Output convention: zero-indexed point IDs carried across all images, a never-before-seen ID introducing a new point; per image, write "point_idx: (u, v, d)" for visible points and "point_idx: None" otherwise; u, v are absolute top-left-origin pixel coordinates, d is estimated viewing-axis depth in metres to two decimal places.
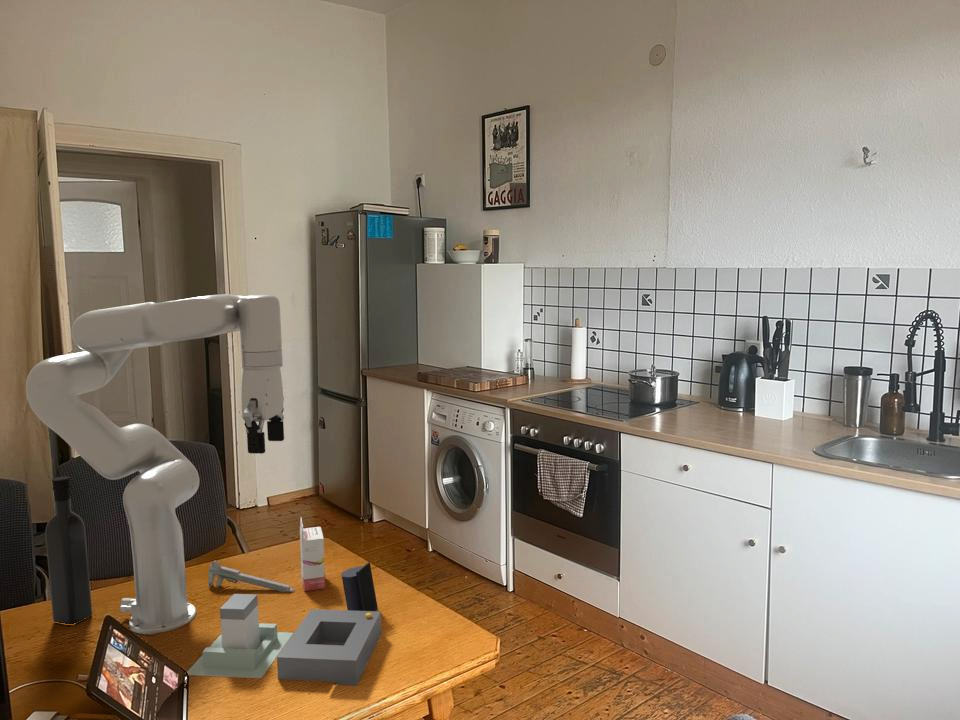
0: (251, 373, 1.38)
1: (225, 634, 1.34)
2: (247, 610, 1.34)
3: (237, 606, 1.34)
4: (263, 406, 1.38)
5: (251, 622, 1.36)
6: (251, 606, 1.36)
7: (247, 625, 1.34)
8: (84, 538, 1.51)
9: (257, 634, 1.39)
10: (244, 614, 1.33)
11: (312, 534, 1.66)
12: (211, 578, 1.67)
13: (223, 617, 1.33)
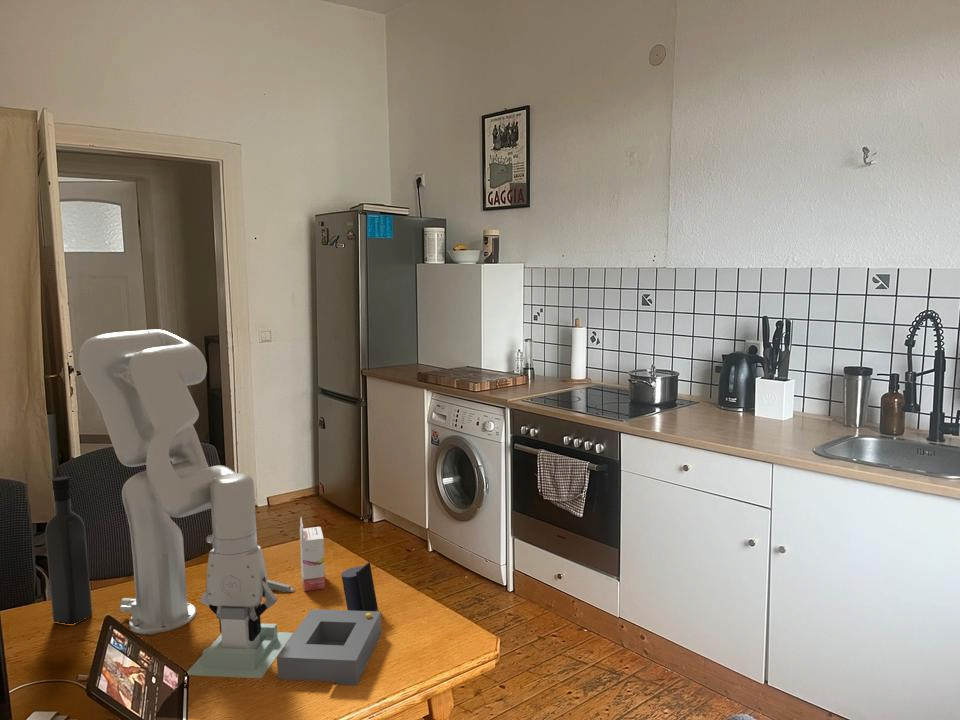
0: (259, 553, 1.34)
1: (225, 634, 1.34)
2: (247, 610, 1.34)
3: None
4: None
5: None
6: None
7: (247, 625, 1.34)
8: (84, 538, 1.51)
9: None
10: (244, 614, 1.33)
11: (312, 534, 1.66)
12: None
13: (223, 617, 1.33)
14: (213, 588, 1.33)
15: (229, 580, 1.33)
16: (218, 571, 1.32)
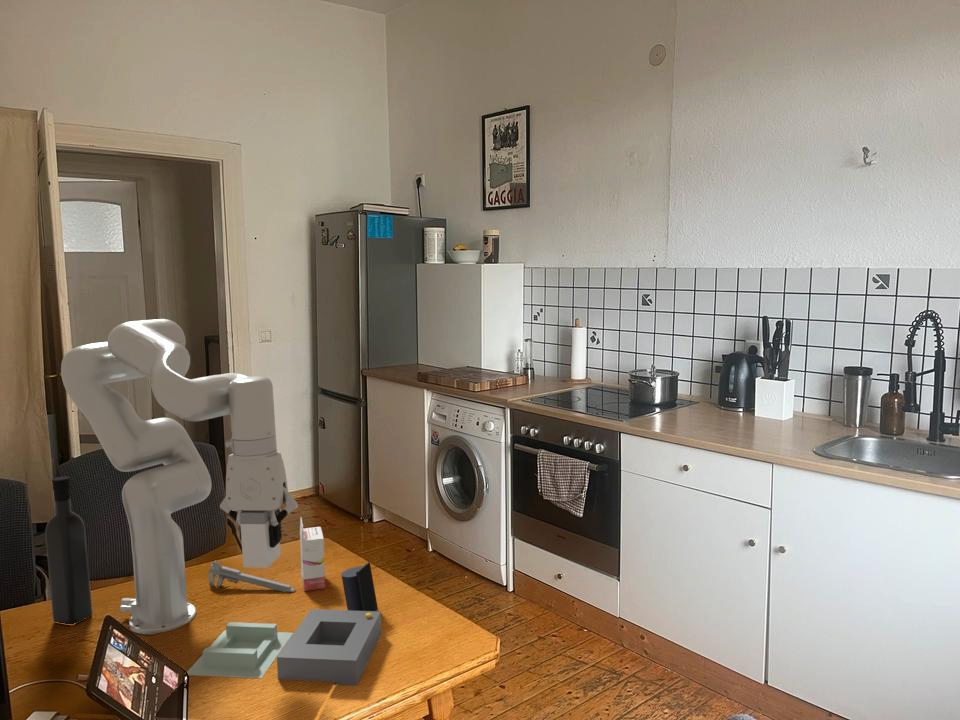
0: (279, 457, 1.31)
1: (245, 539, 1.31)
2: (267, 515, 1.32)
3: (257, 511, 1.31)
4: None
5: None
6: None
7: (267, 530, 1.31)
8: (84, 538, 1.51)
9: None
10: (264, 518, 1.30)
11: (312, 534, 1.66)
12: (212, 578, 1.67)
13: (243, 522, 1.31)
14: (233, 492, 1.30)
15: (249, 484, 1.30)
16: (238, 475, 1.30)
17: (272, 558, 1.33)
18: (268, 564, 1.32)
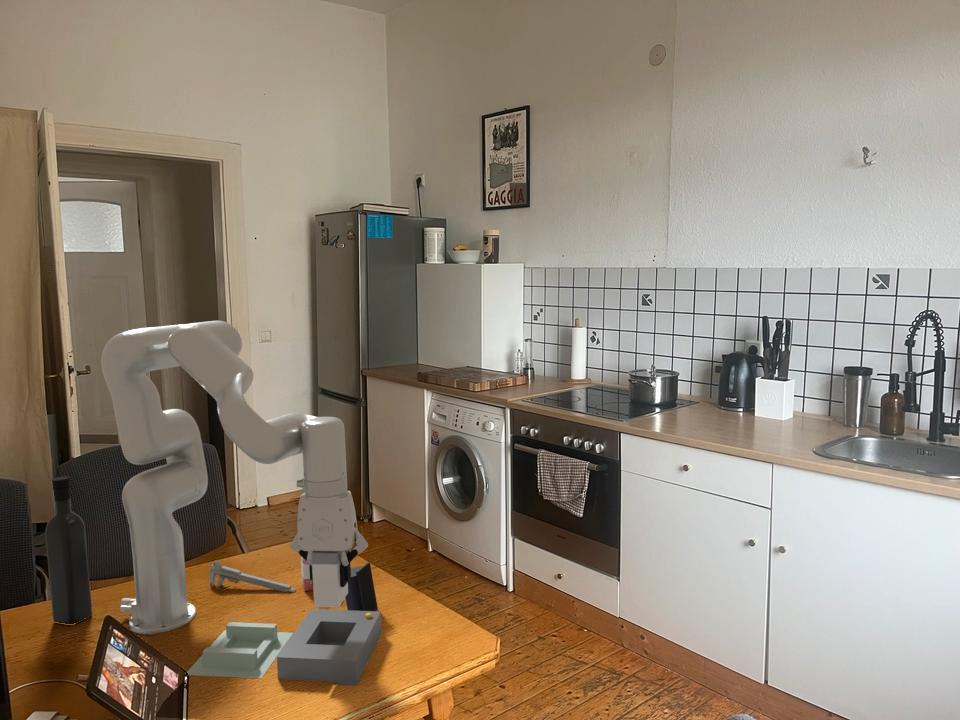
0: (350, 497, 1.32)
1: (317, 579, 1.31)
2: (339, 555, 1.32)
3: None
4: None
5: None
6: None
7: (338, 570, 1.32)
8: (84, 538, 1.51)
9: None
10: (336, 559, 1.31)
11: None
12: (212, 578, 1.67)
13: (315, 562, 1.31)
14: (304, 533, 1.31)
15: (321, 525, 1.30)
16: (310, 515, 1.30)
17: (341, 597, 1.34)
18: (339, 604, 1.32)
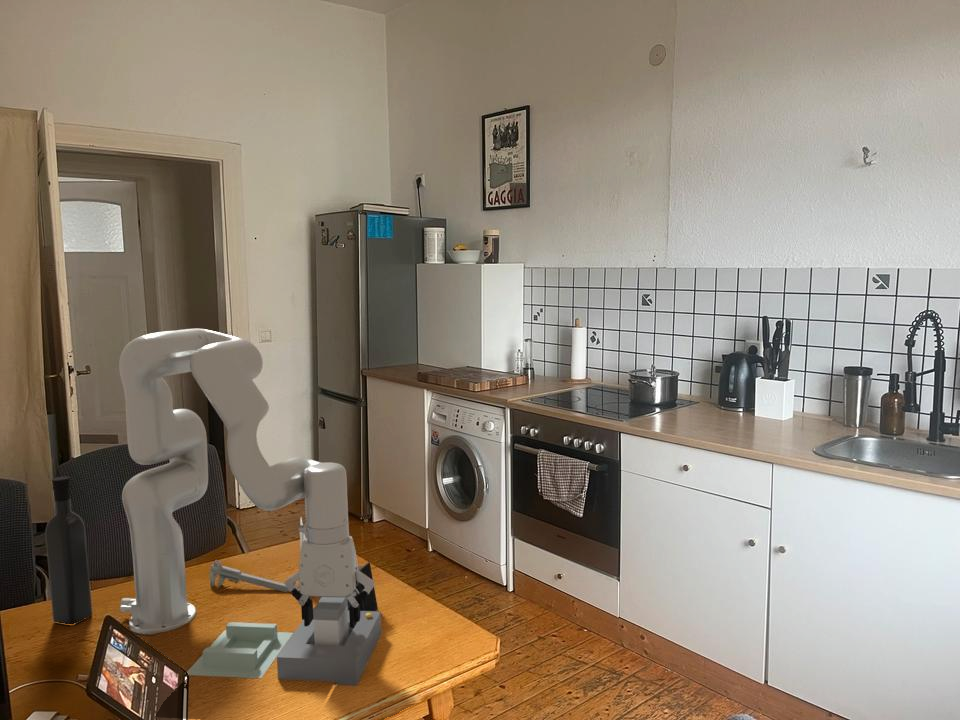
0: (352, 543, 1.33)
1: (318, 635, 1.33)
2: (340, 611, 1.34)
3: (330, 606, 1.33)
4: None
5: (342, 623, 1.35)
6: (343, 607, 1.35)
7: (339, 625, 1.33)
8: (84, 538, 1.51)
9: (347, 635, 1.38)
10: (337, 615, 1.32)
11: None
12: (212, 578, 1.67)
13: (316, 618, 1.33)
14: (306, 578, 1.32)
15: (323, 570, 1.32)
16: (312, 561, 1.31)
17: None
18: None
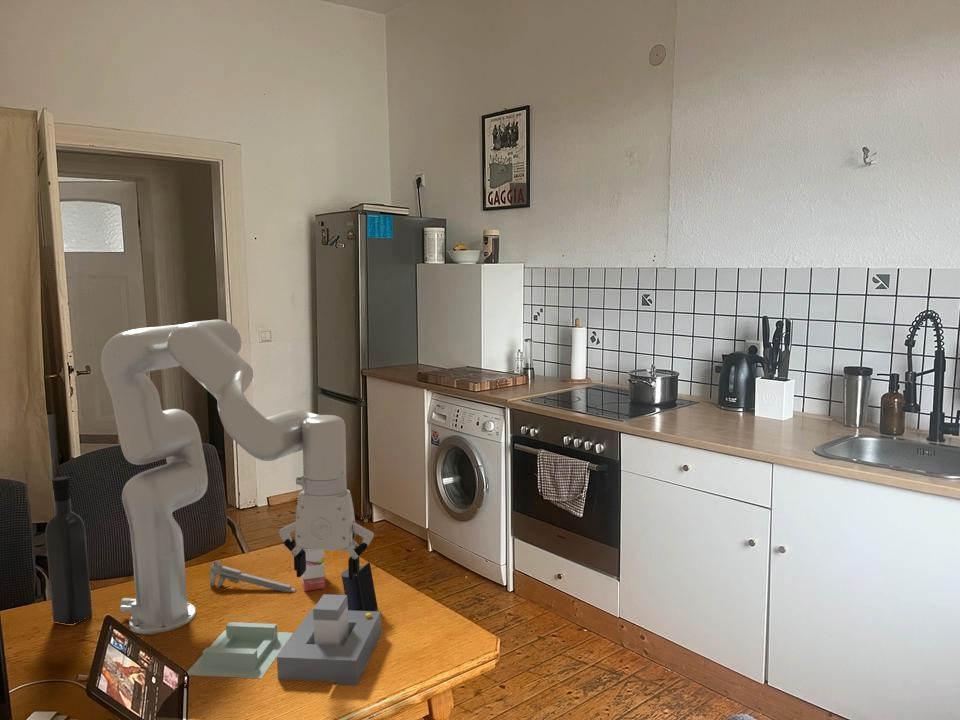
0: (349, 496, 1.32)
1: (318, 635, 1.33)
2: (340, 611, 1.34)
3: (330, 606, 1.33)
4: None
5: (342, 623, 1.35)
6: (343, 607, 1.35)
7: (339, 625, 1.33)
8: (84, 538, 1.51)
9: (347, 635, 1.38)
10: (337, 615, 1.32)
11: None
12: (213, 578, 1.67)
13: (316, 618, 1.33)
14: (302, 530, 1.31)
15: (320, 523, 1.30)
16: (308, 513, 1.30)
17: None
18: None
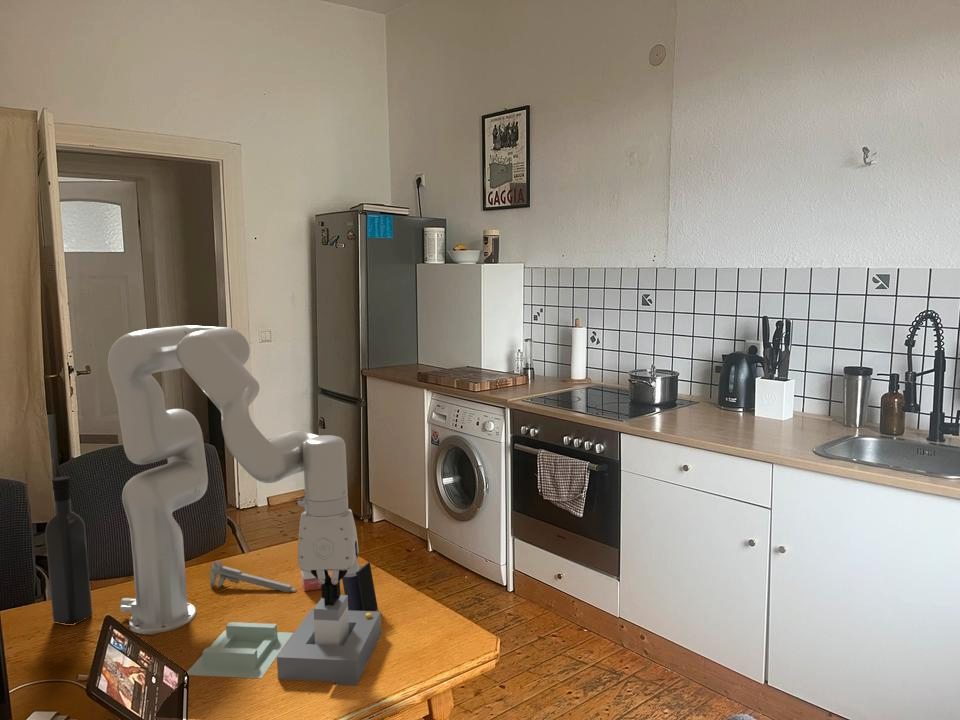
0: (351, 516, 1.32)
1: (318, 635, 1.33)
2: (340, 611, 1.34)
3: (330, 606, 1.33)
4: None
5: (343, 623, 1.35)
6: (343, 607, 1.35)
7: (340, 625, 1.33)
8: (84, 538, 1.51)
9: (347, 635, 1.38)
10: (338, 615, 1.32)
11: None
12: (213, 578, 1.67)
13: (317, 618, 1.33)
14: (305, 551, 1.31)
15: (322, 543, 1.31)
16: (311, 534, 1.31)
17: None
18: None
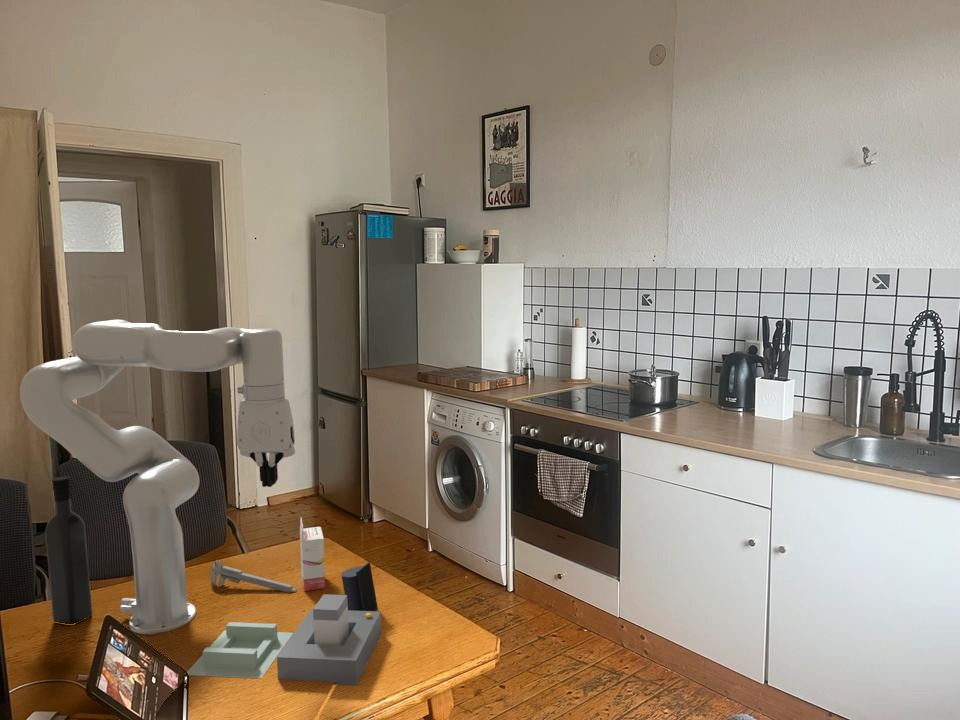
0: (287, 403, 1.42)
1: (318, 635, 1.33)
2: (340, 611, 1.34)
3: (330, 606, 1.33)
4: None
5: (342, 623, 1.35)
6: (343, 607, 1.35)
7: (339, 625, 1.33)
8: (84, 538, 1.51)
9: (347, 635, 1.38)
10: (337, 615, 1.32)
11: (312, 534, 1.66)
12: (213, 578, 1.67)
13: (316, 618, 1.33)
14: (244, 434, 1.41)
15: (259, 427, 1.41)
16: (249, 418, 1.41)
17: None
18: None
